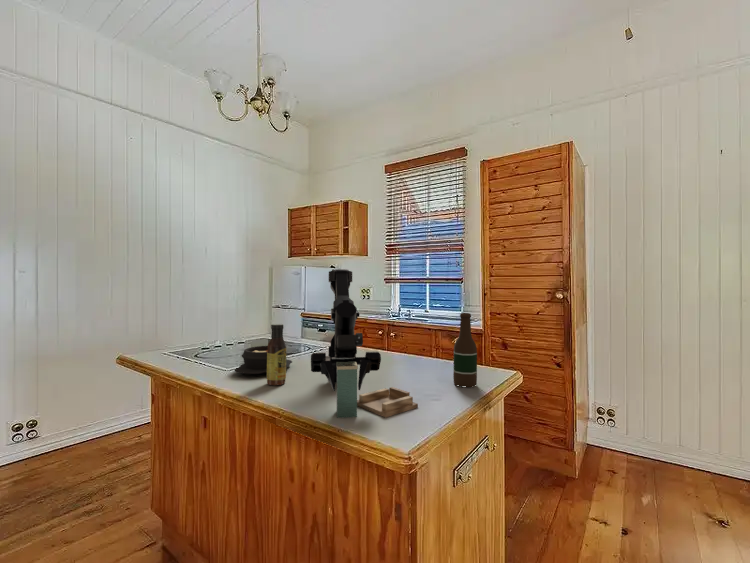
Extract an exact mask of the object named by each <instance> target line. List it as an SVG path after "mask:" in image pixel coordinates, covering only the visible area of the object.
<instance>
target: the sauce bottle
mask: <svg viewBox="0 0 750 563" xmlns="http://www.w3.org/2000/svg"><path fill="white" fill-rule="evenodd" d="M270 328H271V336H270V337H271V338H270V340H269V342H268V343H267V346H268V352H267V374H266V384H267V385H268V386H281V385H284V384H285V383H286V378H287V368H286V359H287V355H286V352H287V345H286V342H285V340H284V324H282V323H273V324H271V325H270Z"/></svg>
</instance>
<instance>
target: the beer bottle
mask: <svg viewBox="0 0 750 563" xmlns="http://www.w3.org/2000/svg"><path fill="white" fill-rule="evenodd" d="M459 317H460V324H459V333H458V337H457V339H456V340H455V343H454V345H453V377H452V378H453V383H454V385H455V386H456V385H459V386H466V387H472V386H475V385H476V386H477V384H478V383H477V382H478V381H477V380H478V349H477V345H476V342H475V341H474V339H473V336H472V326H471V324H472V323H471V317H472V314H471V313H469V312H461V313H460V314H459ZM459 386H458V387H459ZM476 386H475V387H476ZM472 388H473V387H472Z"/></svg>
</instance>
